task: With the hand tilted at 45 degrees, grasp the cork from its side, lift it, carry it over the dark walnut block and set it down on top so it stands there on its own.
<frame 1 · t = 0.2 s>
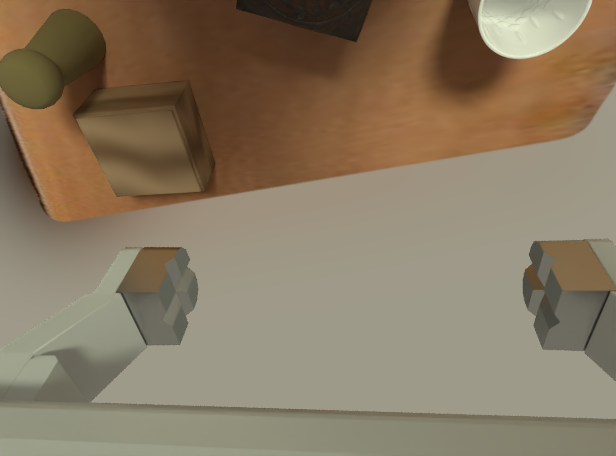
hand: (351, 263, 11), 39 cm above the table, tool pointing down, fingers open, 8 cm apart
walnut block: (158, 128, 54), on the table
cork: (77, 38, 48), on the table
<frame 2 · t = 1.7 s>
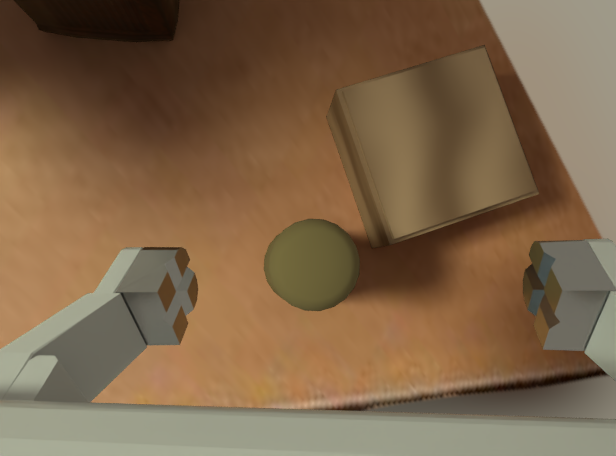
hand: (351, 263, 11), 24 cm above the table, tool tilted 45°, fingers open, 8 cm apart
walnut block: (413, 161, 37), on the table
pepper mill: (108, 7, 36), on the table
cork: (302, 264, 35), on the table
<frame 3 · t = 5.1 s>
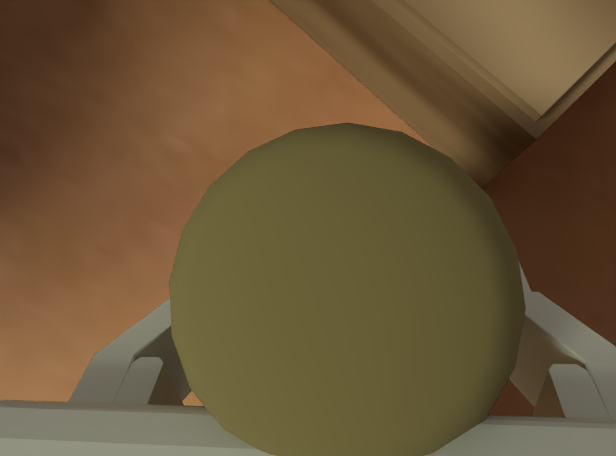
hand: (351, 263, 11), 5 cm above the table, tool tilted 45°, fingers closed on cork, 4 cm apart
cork: (358, 288, 16), on the table, touching gripper
when the fingers open (12 cm above the table, at t = 10.0 s): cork stays where it is, resting on walnut block.
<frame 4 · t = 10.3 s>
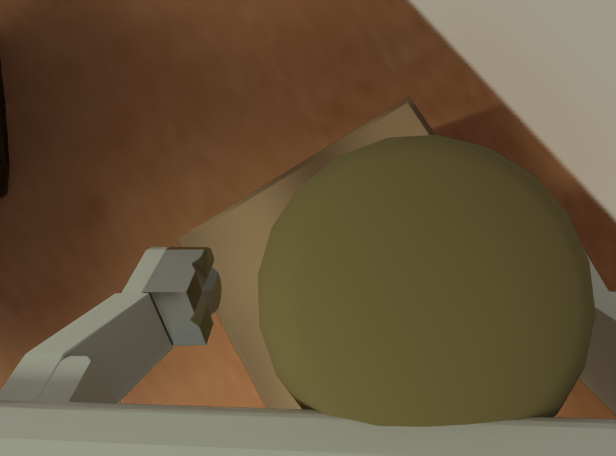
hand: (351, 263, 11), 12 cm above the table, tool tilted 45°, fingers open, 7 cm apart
walnut block: (364, 286, 23), on the table
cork: (365, 288, 17), point 6 cm above the table, touching gripper, walnut block
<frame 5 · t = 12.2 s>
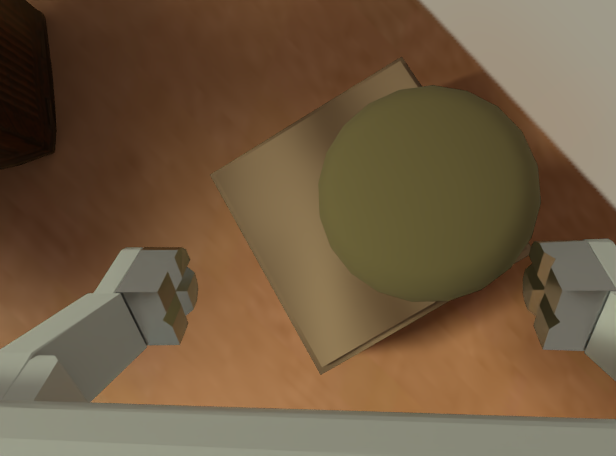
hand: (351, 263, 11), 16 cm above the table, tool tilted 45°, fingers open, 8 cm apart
walnut block: (364, 226, 27), on the table
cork: (429, 226, 20), point 6 cm above the table, touching walnut block
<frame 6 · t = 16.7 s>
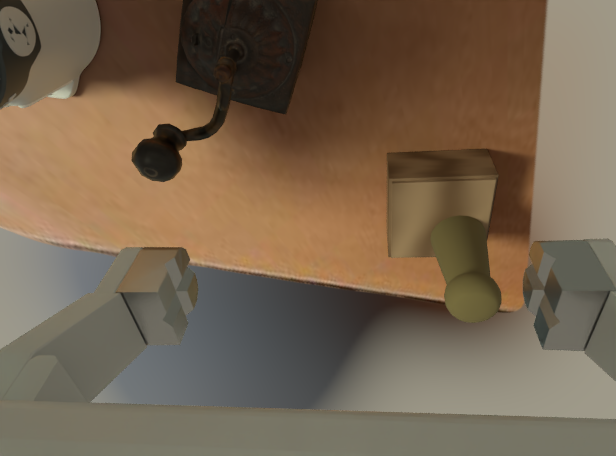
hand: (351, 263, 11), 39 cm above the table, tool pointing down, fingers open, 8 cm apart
walnut block: (433, 191, 55), on the table
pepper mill: (252, 39, 46), on the table
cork: (457, 235, 52), point 6 cm above the table, touching walnut block
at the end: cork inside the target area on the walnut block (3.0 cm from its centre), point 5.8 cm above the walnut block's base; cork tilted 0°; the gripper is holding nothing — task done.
